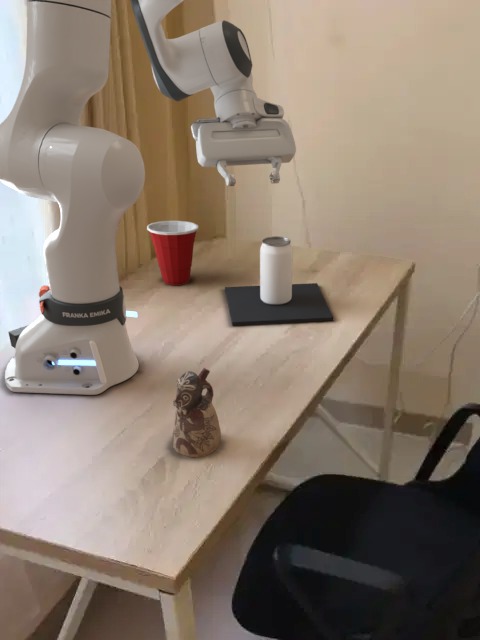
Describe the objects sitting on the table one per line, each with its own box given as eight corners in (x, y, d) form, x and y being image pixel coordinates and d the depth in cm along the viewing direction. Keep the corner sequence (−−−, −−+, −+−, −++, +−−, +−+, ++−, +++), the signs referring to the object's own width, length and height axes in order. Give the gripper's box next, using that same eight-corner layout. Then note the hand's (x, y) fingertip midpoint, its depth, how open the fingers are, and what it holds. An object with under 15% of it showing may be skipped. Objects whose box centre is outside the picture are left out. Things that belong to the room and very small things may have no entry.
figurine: (166, 438, 113) (159, 366, 106) (209, 426, 116) (205, 356, 108) (184, 462, 108) (178, 388, 101) (228, 449, 111) (226, 377, 103)
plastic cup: (205, 272, 167) (202, 217, 160) (196, 290, 159) (193, 233, 152) (158, 270, 168) (153, 215, 161) (146, 288, 160) (140, 231, 152)
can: (296, 303, 152) (297, 244, 145) (266, 307, 150) (266, 248, 143) (284, 291, 157) (285, 234, 150) (255, 295, 155) (255, 237, 148)
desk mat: (232, 326, 145) (232, 322, 145) (224, 290, 159) (224, 286, 159) (333, 321, 148) (333, 317, 147) (317, 286, 162) (317, 282, 161)
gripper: (192, 109, 144) (207, 178, 143) (290, 106, 150) (305, 172, 150) (186, 128, 150) (200, 194, 149) (280, 124, 156) (295, 188, 156)
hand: (253, 183), depth 149 cm, fingers open, 8 cm apart
